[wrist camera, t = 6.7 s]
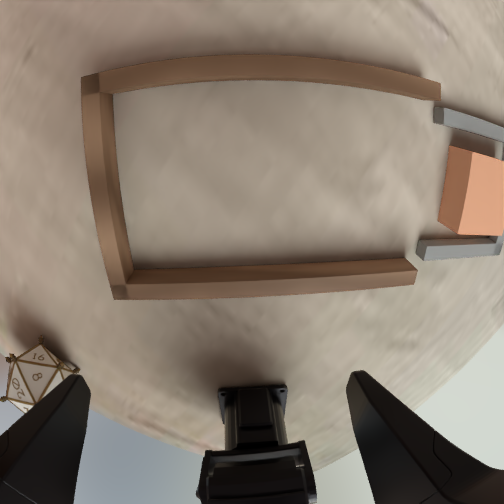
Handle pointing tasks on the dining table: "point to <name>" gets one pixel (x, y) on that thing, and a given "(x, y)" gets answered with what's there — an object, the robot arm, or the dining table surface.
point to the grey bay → (463, 247)
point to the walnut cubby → (233, 277)
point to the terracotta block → (473, 194)
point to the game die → (34, 376)
